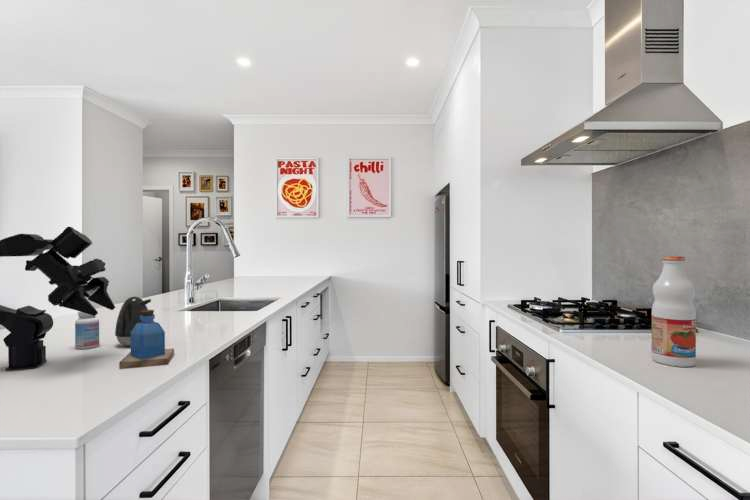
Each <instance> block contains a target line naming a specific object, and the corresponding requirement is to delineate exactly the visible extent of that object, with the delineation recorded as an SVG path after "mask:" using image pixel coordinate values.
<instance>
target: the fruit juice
mask: <svg viewBox="0 0 750 500" xmlns="http://www.w3.org/2000/svg"><path fill="white" fill-rule="evenodd" d="M661 263H662V264H663V266H662V270H661V273H660V275H659V277H658V278H657V279H656V281H655V282H654V283H653V285H652V294H653V297H654V300H653V303H652V307H651V350H650V351H651V353H650V354H651V359H652V361H654V362H656V363H657V364H662V365H666V366H672V367H680V368H690V367H694V366H695V365H696V362H697V361H696V357H697V355H696V353H697V352H696V351H697V346H696V344H697V339H696V338H697V331H696V330H697V325H696V324H697V312H696V307H695V305H694V299H695V297H696V287H695V285H694V283H693V282H692V281H691V280H690V279H689V277H688V276H687V272H686V270H685V263H686V257H685V256H678V255H677V256H676V255H675V256H673V255H668V256H667V255H666V256H664V255H663V256H662V258H661Z"/></svg>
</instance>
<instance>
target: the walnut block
mask: <svg viewBox="0 0 750 500" xmlns="http://www.w3.org/2000/svg"><path fill="white" fill-rule="evenodd" d="M174 355H175V348H165V355H160V356H156V357H151V358H146V359H141V360H140V359H138V358H135V357H133V356H131V351H129V352H128V353H127V354H126V355H125V356H124V357H123V358H122V359H121V360H120V361H119V362H118V364H119V365H118V366H119V368H118V369H119V370H123V369H124V370H125V369H135V368H146V367H148V368H149V367H157V366H159V367H160V366H167V365H169V363H170V362H171V360H172V358H173V357H174Z"/></svg>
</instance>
